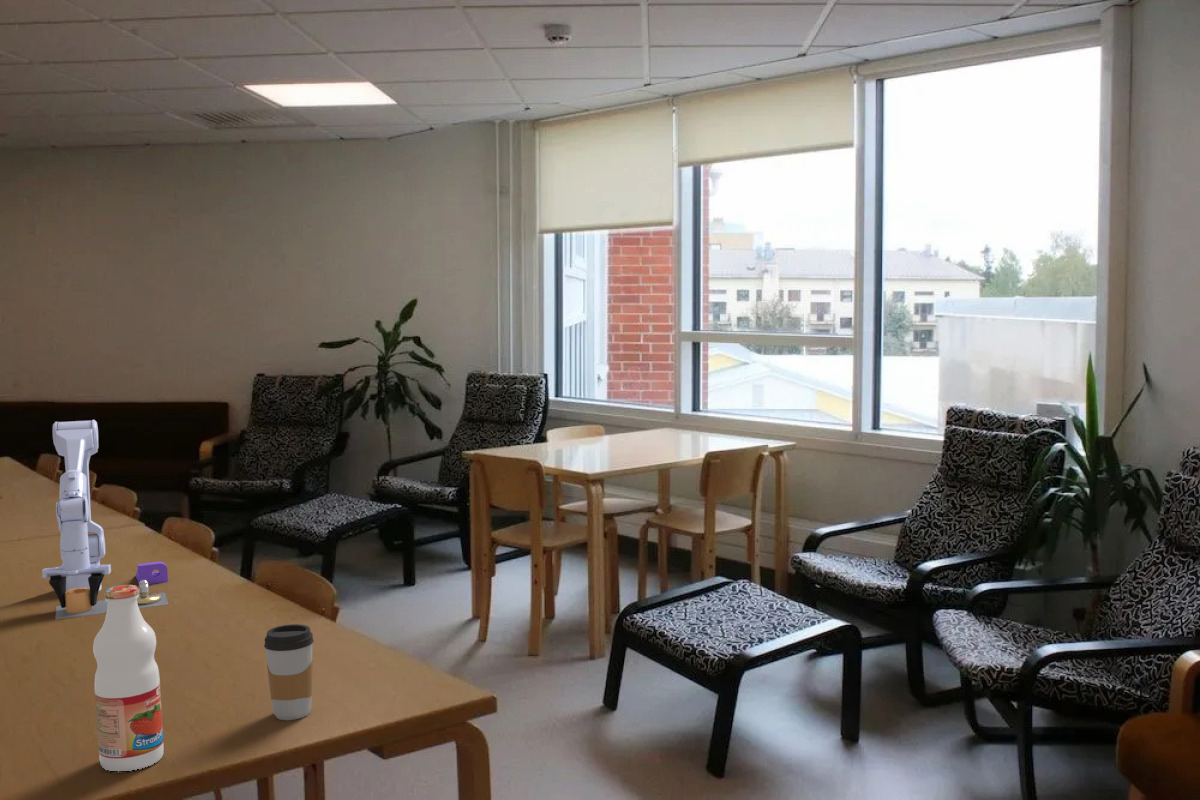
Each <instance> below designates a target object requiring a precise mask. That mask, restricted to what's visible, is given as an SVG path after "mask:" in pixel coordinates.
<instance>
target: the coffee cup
mask: <svg viewBox="0 0 1200 800" xmlns="http://www.w3.org/2000/svg"><path fill="white" fill-rule="evenodd" d="M313 637H314V634H313V632H311V628H310V627H309V625H305V624H300V623H299V624H296V623H295V624H293V623H291V624H284V625H279V626H274V627H272V628H270V629H267V631H266V636H265V637H264V645H263V647H264V649H265V653H266V654H265V655H266V663H267V667H266V669H267V675H268V683H269V684H268V685H269V692H270V698H271V705H272V711H273V713H272V714H273V715H274V717H275V718H276V719H278V720H282V721H293V720H299V719H302V718H305V717H306V716H308V715H309V714H310V711H311V710H312V695H313V665H314V664H313V661H314V660H313V643H314V638H313Z"/></svg>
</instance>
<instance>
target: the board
mask: <svg viewBox="0 0 1200 800" xmlns="http://www.w3.org/2000/svg"><path fill="white" fill-rule="evenodd" d="M157 593H158V594H160V595H161V600H160V601H158V602H156V603H153V604H148V605H138V607H139V609H146V608H153V607H160V606H161V607H162V606H166V605H167V606H168V605H169V602H168V597H167V594H166V592H157ZM92 607H93V608H92V609H91V610H88V611H85V612H80V613H68V612H66V607H65V608H61V605H56V607H55V620H61V619H70V618H78V617H85V616H92V615H99V614H101V615H102V614H105V613H107V602H106V601H105V599H103V600H97V604H96V605H95V606H92Z"/></svg>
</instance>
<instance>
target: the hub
mask: <svg viewBox="0 0 1200 800" xmlns="http://www.w3.org/2000/svg"><path fill="white" fill-rule="evenodd" d="M138 590H139V597H138V598H137V603H138V605H148V604H153V603H156V602H158V601H160V600H161V595H160V594H158V593H159V592H149V584H148V582H147V581H146V580H141V581H140V583H139V584H138Z"/></svg>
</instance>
